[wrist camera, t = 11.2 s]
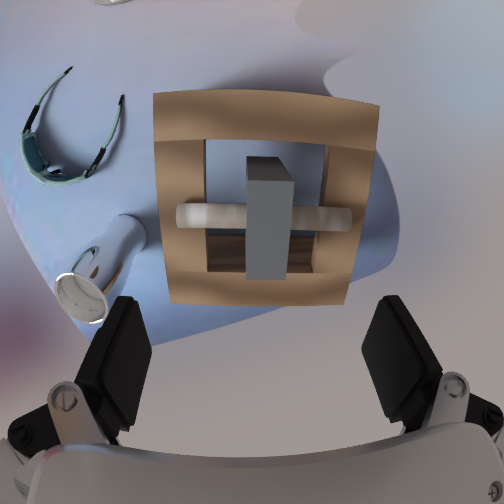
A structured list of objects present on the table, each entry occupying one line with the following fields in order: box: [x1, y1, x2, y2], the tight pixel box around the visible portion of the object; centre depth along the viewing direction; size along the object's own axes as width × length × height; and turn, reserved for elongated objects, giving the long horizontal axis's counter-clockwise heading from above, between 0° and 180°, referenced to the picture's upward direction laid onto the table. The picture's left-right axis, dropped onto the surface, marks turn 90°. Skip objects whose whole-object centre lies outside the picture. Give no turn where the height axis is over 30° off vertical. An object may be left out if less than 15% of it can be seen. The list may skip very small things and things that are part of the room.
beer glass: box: [55, 215, 147, 324], centre depth 31 cm, size 7×7×15 cm
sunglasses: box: [20, 67, 123, 186], centre depth 28 cm, size 14×15×5 cm
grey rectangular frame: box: [245, 156, 294, 280], centre depth 24 cm, size 8×3×9 cm, turn 178°
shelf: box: [153, 89, 380, 306], centre depth 28 cm, size 20×18×14 cm
